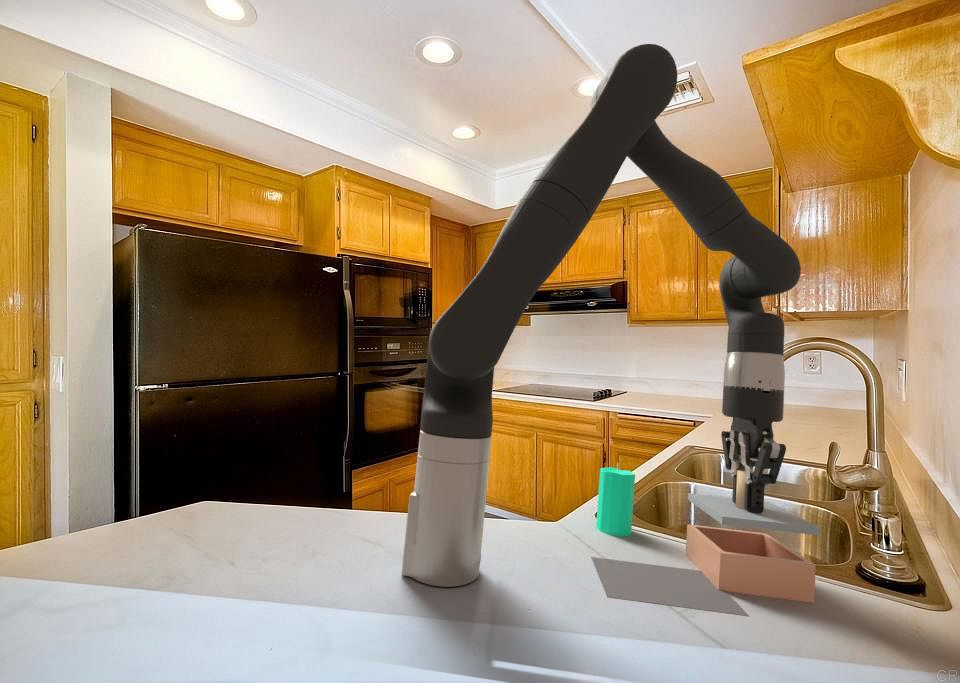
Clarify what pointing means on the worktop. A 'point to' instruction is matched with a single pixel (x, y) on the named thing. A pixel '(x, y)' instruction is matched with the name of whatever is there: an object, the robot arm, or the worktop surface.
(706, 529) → the dish
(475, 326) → the robot arm
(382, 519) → the worktop surface
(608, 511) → the candle
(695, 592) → the mat
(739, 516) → the lid
